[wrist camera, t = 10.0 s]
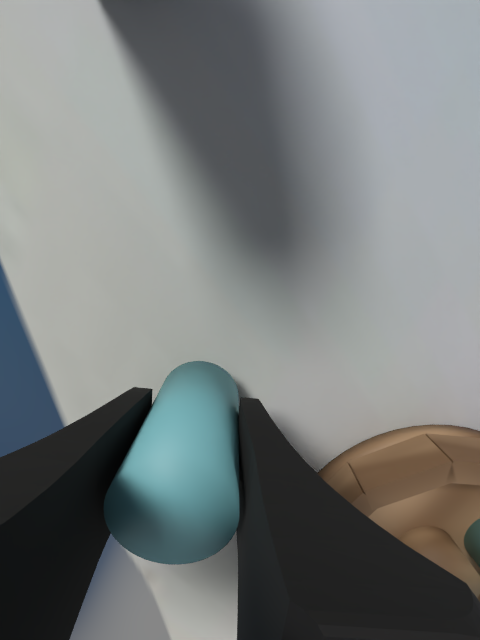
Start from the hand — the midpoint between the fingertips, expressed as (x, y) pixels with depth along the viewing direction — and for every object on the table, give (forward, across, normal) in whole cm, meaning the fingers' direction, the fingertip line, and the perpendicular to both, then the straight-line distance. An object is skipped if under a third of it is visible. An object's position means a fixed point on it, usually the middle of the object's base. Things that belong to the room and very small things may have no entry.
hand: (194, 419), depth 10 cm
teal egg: (+2, 0, 0) cm, 2 cm away
